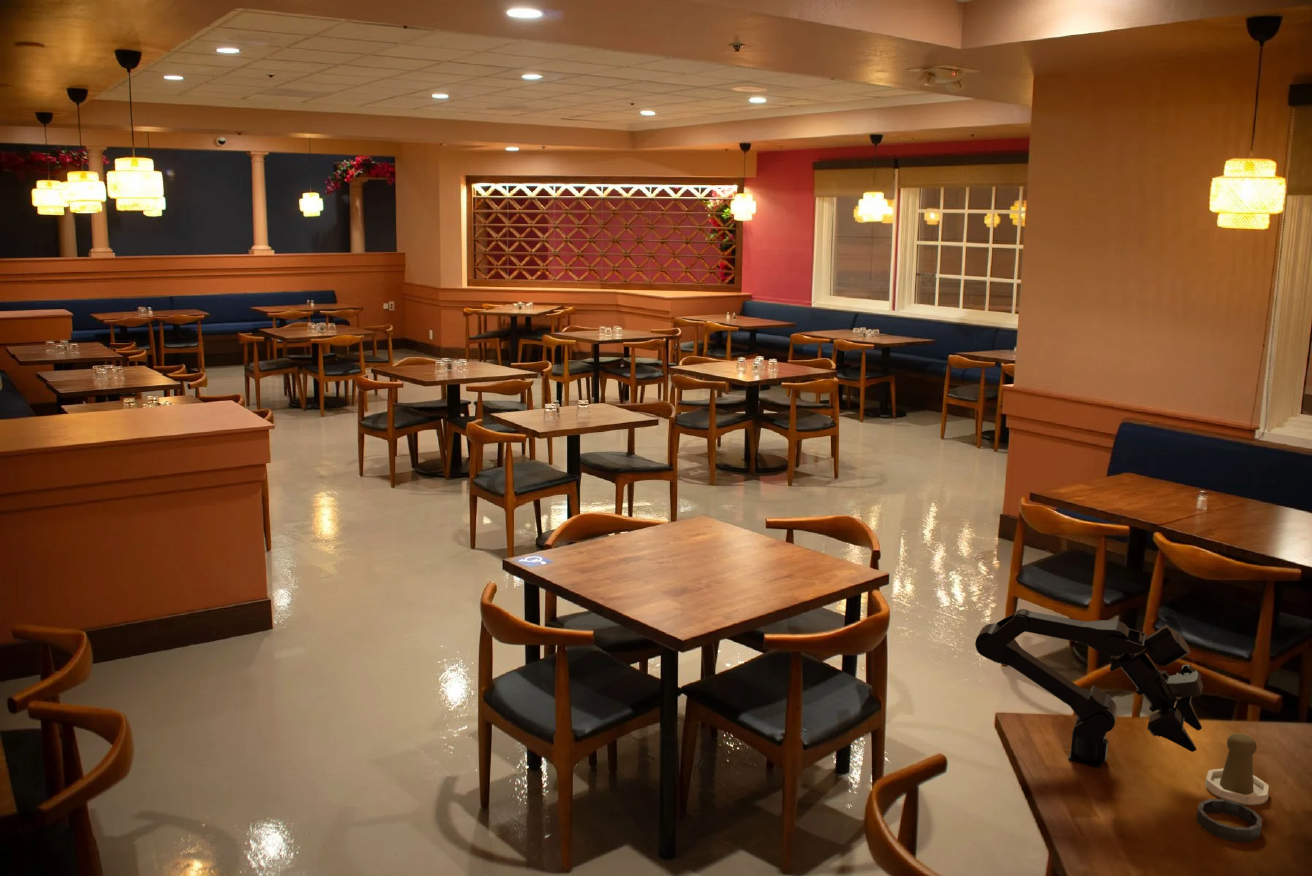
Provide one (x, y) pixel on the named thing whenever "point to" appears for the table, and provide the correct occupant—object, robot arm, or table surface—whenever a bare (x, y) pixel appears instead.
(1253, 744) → the cork
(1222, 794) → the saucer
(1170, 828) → the table surface
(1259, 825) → the dark grey ring
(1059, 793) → the table surface
